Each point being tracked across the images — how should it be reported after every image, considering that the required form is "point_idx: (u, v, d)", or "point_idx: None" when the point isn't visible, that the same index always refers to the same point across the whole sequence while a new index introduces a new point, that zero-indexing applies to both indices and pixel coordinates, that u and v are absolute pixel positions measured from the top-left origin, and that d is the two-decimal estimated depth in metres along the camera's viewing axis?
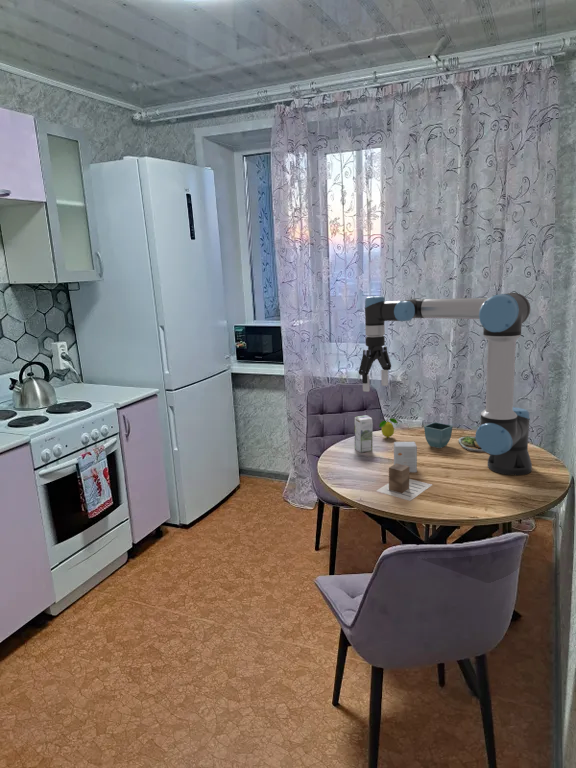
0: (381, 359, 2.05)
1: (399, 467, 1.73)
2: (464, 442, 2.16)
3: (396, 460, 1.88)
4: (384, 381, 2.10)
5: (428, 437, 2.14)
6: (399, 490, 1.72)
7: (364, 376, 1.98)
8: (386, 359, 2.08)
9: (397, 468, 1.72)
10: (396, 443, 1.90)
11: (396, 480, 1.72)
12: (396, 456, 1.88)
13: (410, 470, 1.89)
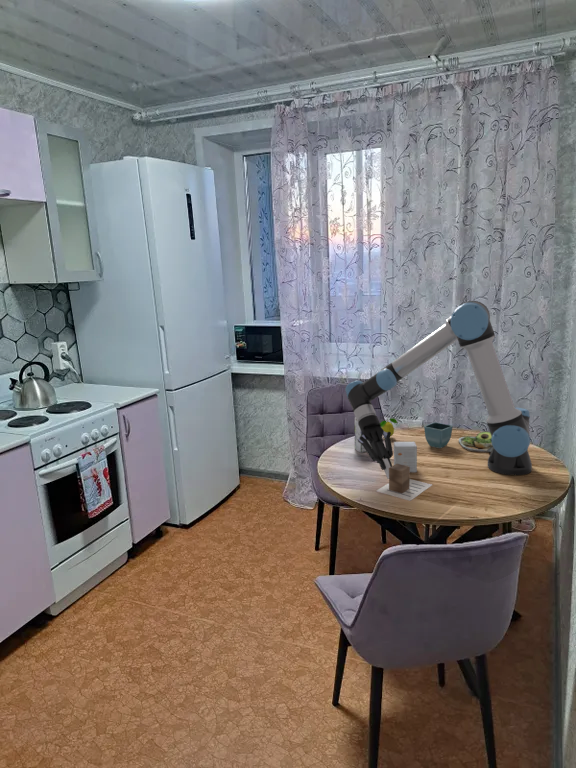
0: (379, 442, 1.83)
1: (400, 467, 1.73)
2: (464, 442, 2.16)
3: (396, 460, 1.88)
4: None
5: (428, 437, 2.14)
6: (399, 490, 1.72)
7: (380, 461, 1.79)
8: (387, 445, 1.84)
9: (397, 468, 1.72)
10: (396, 443, 1.91)
11: (396, 481, 1.72)
12: (396, 456, 1.88)
13: (410, 470, 1.89)
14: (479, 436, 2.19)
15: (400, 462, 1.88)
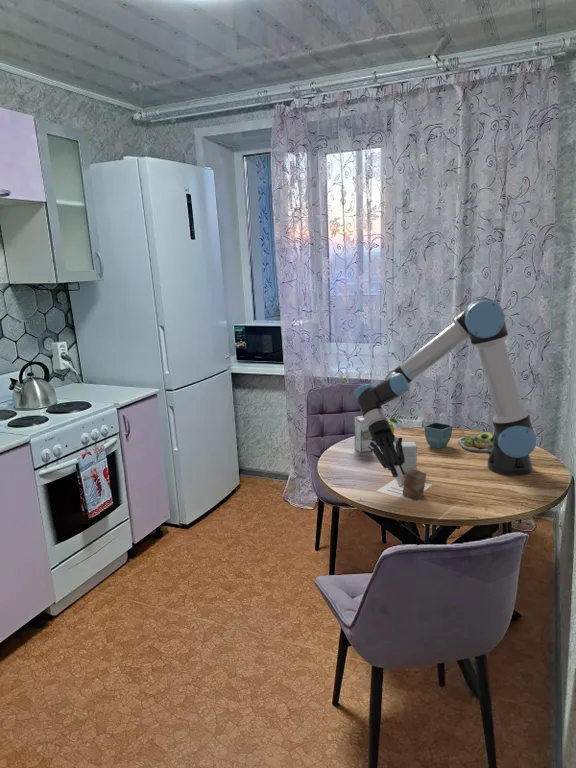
0: (390, 448, 1.76)
1: (416, 473, 1.67)
2: (464, 442, 2.16)
3: None
4: None
5: (428, 437, 2.14)
6: (413, 497, 1.66)
7: (391, 468, 1.72)
8: (399, 452, 1.77)
9: (414, 475, 1.65)
10: None
11: (412, 487, 1.66)
12: None
13: None
14: (479, 436, 2.19)
15: None
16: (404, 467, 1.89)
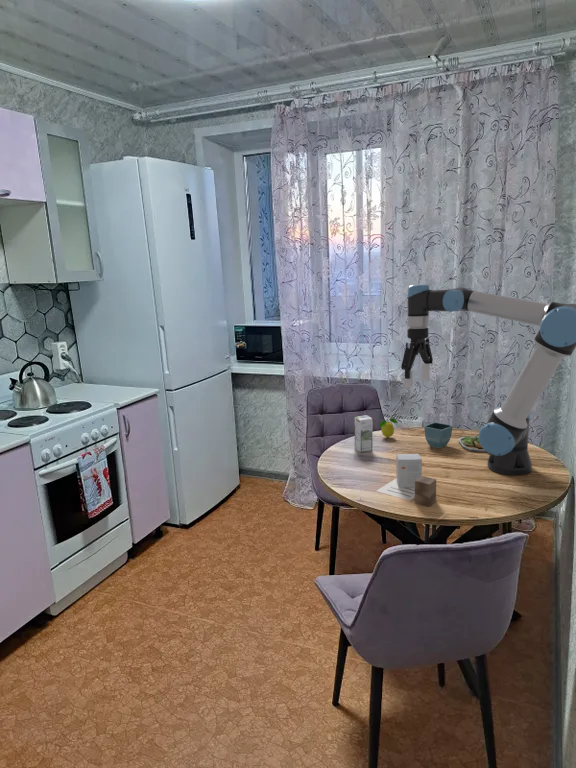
0: (423, 352, 1.91)
1: (426, 480, 1.62)
2: (464, 442, 2.16)
3: (399, 474, 1.74)
4: (425, 376, 1.96)
5: (428, 437, 2.14)
6: (426, 505, 1.61)
7: (407, 371, 1.84)
8: (428, 352, 1.94)
9: (424, 481, 1.61)
10: (399, 456, 1.76)
11: (423, 494, 1.61)
12: (399, 470, 1.74)
13: (414, 485, 1.75)
14: None
15: (404, 476, 1.74)
16: (408, 482, 1.75)
